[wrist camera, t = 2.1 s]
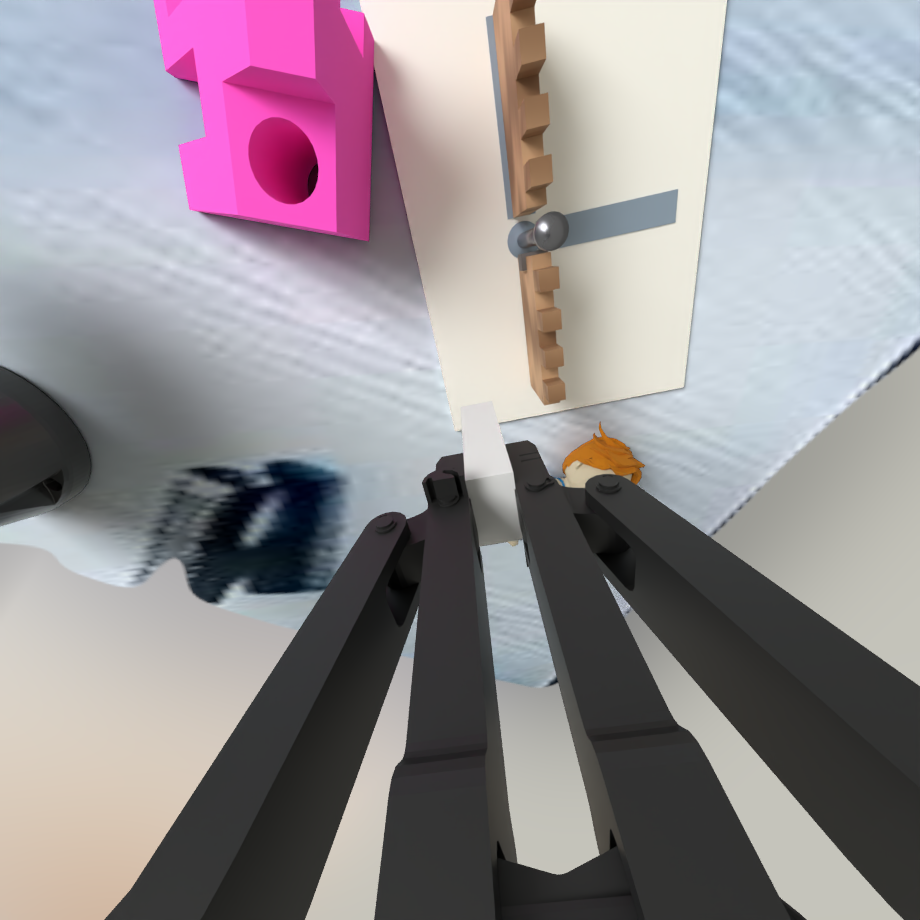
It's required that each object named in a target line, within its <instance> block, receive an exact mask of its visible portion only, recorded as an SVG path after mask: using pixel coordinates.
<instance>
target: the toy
mask: <svg viewBox="0 0 920 920" xmlns="http://www.w3.org/2000/svg"><path fill="white" fill-rule="evenodd" d="M600 423H601V422H600ZM600 423H599V430H600V433H601V435H602V437H599V438H597V436H596V435H595V433H594V434H593V439H592V440H590V441H588V442H586V443H585V444H583V445H581V446H580V447H579V448H577V449H575V450H574V451H572V452H571V453H570V454H569V455H568V456H567V457H566V458H565V461H564V463H563V466H562V467H563V473H564V474H565V475H566V477H565V478H556V477H554V478H555V479H556V480H557V481H558V483H559V485H561V486H565V487H573V488H585V483H586V482H587V481H588V479H590V478H592V477H594V476H596V475H601V474H615V475H619V476H623V477H625V478H627V479H629V480H630V481H631V482H633V483H634V484H636V485H637V483H638V482H639V481H640V479H641V471H640V469H639V468H642V467H644V466H645V465H644V464H642V463H641V462H639V461H638V460H636V459H635V458H633V455H632V452H631V451H630V450H629V449H630V448H629V447H626V446H625V444H624V443H622V442H620V441H618V440H617V439H614V438H608V437H607V436H606V435H605V433H604V432H603V430H602V429H601V424H600ZM508 543H509V544H510V545H512V546H516V545H517V544H518V540H516V541H510V542H508Z"/></svg>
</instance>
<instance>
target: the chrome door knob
mask: <svg viewBox="0 0 920 920" xmlns="http://www.w3.org/2000/svg"><path fill="white" fill-rule="evenodd" d="M568 233H569V224H568V221H567V219H566V217H565V216H564V215H563V214H562V213H560V212H557V211H551V212H548V213H546V214H544V215H543V216H541V217H540V218H539V219H538V221H537V222H536V224H535V226H534V228H532V229H530V230H528V231H525V232H523V233H521V234H520V235H519V236H518V238H517V243H518V246H519V247H520V248H528V247H532V246H537V247H538V248H539V249H541V250H543V251H553V250H556V249H558V248H560V247H561V246H562V245H563V244H564V243H565V241H566V239H567V237H568Z"/></svg>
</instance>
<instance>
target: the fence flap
mask: <svg viewBox="0 0 920 920" xmlns="http://www.w3.org/2000/svg"><path fill="white" fill-rule="evenodd" d="M518 266H519V275H520V285H521V295H522V305H523V315H524V324H525V334H526V344H527V354H528V364H529V373H530V383H531V387H532V388H533V390H534V391H535V393H536V394H537V396H538V397H539V398H540V400H541V401H542V403H543V404H544V406H545V405H550V404H555V403H560V401H561V400H566V392H565V383H564V382H563V381H562V380H561V379H560V378H559V375H558V367H562V366H564V355H563V348H562V347H561V346H560V345H558V344H557V343H556V330H560V329H562V318H561V309H559V308H556V307H554V294H553V290H555V289H559V288H560V281H559V266H552V262H551V252H548V251H543V250H537V251H532V252H528V253H523V254H519V255H518Z"/></svg>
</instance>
